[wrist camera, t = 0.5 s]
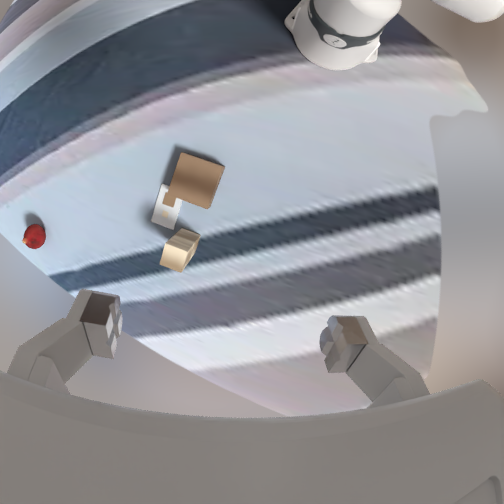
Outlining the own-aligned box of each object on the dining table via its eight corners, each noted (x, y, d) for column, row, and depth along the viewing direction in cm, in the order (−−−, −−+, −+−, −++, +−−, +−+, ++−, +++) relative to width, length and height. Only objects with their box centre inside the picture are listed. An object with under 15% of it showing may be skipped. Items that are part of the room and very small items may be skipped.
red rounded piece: (53, 227, 57) (32, 237, 49) (49, 247, 59) (29, 258, 51) (38, 217, 56) (17, 225, 48) (35, 236, 58) (15, 246, 50)
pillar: (181, 227, 56) (165, 243, 46) (200, 235, 56) (187, 251, 46) (176, 245, 57) (159, 264, 47) (194, 253, 57) (181, 272, 48)
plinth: (185, 152, 51) (181, 152, 48) (225, 166, 51) (222, 166, 49) (171, 192, 53) (166, 194, 50) (210, 206, 54) (207, 209, 51)
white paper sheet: (162, 183, 53) (161, 183, 52) (185, 191, 53) (185, 192, 53) (151, 221, 55) (150, 221, 55) (173, 229, 56) (173, 230, 55)
